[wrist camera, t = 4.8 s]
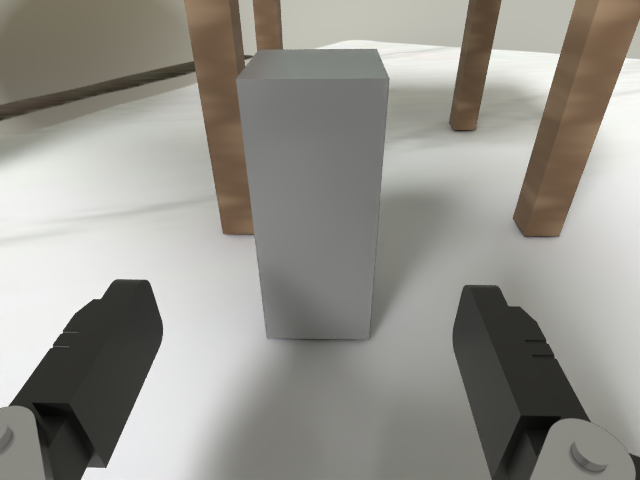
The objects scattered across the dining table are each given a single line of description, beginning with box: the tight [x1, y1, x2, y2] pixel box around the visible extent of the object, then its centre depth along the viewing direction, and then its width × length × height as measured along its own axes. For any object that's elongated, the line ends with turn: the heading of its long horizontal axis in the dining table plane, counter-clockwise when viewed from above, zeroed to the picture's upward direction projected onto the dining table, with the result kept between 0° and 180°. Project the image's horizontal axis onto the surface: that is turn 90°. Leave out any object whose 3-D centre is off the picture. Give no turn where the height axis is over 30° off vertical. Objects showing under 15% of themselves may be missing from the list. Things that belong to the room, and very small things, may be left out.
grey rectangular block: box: [236, 49, 389, 340], centre depth 17 cm, size 4×4×11 cm
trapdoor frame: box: [184, 0, 640, 236], centre depth 29 cm, size 20×20×14 cm
